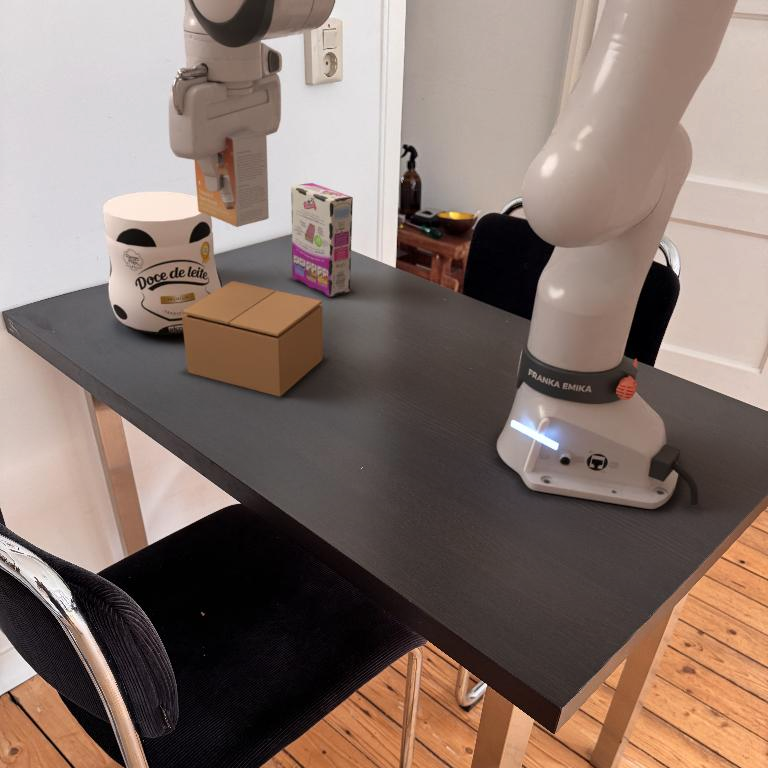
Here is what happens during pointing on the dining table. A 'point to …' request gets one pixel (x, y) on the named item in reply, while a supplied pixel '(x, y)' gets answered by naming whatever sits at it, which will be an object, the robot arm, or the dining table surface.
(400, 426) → the dining table surface
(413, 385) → the dining table surface
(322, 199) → the candy bar box
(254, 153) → the small box
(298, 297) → the flap
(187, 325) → the carton
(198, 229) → the doce de leite jar
